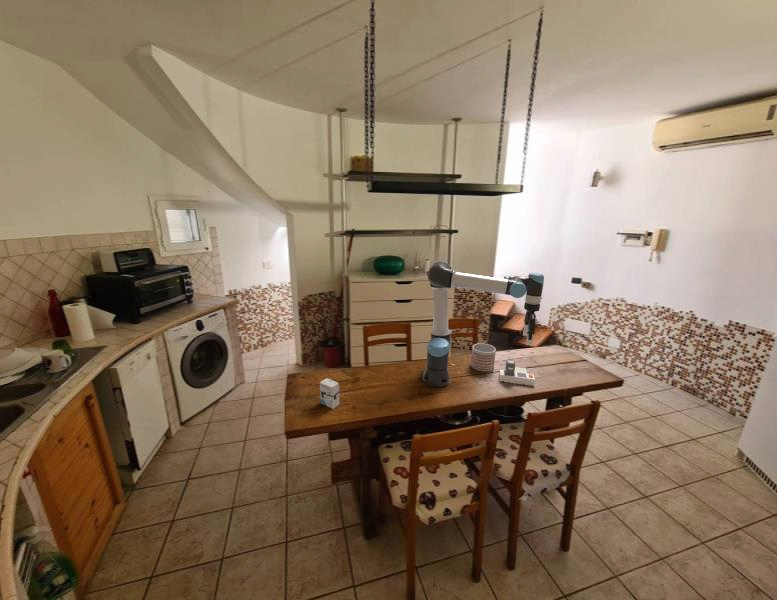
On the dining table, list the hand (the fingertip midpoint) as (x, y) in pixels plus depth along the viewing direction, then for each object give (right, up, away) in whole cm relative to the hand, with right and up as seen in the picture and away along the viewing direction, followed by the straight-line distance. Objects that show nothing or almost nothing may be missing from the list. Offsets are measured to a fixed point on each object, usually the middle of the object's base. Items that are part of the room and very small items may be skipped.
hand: (527, 340), depth 177 cm
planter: (-18, -19, +23) cm, 35 cm away
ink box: (-104, -29, -18) cm, 109 cm away
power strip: (-3, -24, +7) cm, 25 cm away
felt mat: (+2, -21, +18) cm, 28 cm away
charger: (-7, -21, +8) cm, 24 cm away
